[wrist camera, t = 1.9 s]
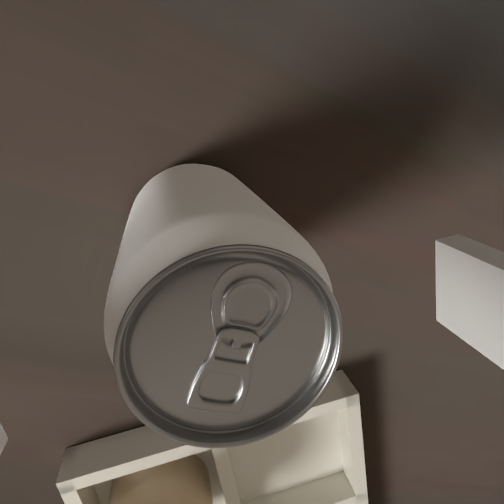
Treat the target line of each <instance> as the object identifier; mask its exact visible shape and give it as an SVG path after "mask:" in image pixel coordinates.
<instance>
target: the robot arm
mask: <svg viewBox="0 0 504 504" xmlns="http://www.w3.org/2000/svg"><path fill="white" fill-rule="evenodd" d="M435 246H436V320H437V321H438V322H439V323H441V324H442V325H444V326H445V327H446V328H448V329H449V330H450V331H452V332H453V333H454V334H456V335H457V336H459V337H460V338H461V339H463V340H464V341H465V342H467V343H468V344H469V345H471V346H472V347H473V348H475V349H476V350H478V351H479V352H480V353H482V354H483V355H484V356H486V357H487V358H488V359H490V360H491V361H493V362H494V363H495V364H497V365H498V366H499V367H501V368H502V369H503V370H504V252H502V251H499V250H497V249H494V248H492V247H489V246H487V245H484V244H482V243H479V242H476V241H474V240H471V239H469V238H466V237H464V236H461V235H459V234H458V235H454V236H450V237H446V238H442V239H438V240H435ZM7 440H8V437H7V435H6V433H5V431H4V429H3V427H2V425H1V423H0V455H1V453H2V451H3V449H4V447H5V444H6V442H7Z"/></svg>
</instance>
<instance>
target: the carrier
mask: <svg viewBox="0 0 504 504" xmlns="http://www.w3.org/2000/svg"><path fill="white" fill-rule="evenodd" d="M194 454H195V455H197V456H198V457H199V458H200V459H202V461H203V462H204V463H205V465H206V466H207V469H208V472H209V477H210V485H211V492H212V499H213V504H368V494H367V482H366V470H365V458H364V447H363V435H362V423H361V411H360V400H359V393H358V391H357V390H356V389H355V387H354V386H353V384H352V383H351V381H350V380H349V379H348V377H347V376H346V374H345V373H344V372H343V370H342V369H341V370H338V371H336V372H335V374H334V376H333V378H332V380H331V382H330V384H329V386H328V387H327V389H326V390H325V392H324V393H323V395H322V396H321V397H320V399H319V400H318V401H317V402H316V403H315V404H314V405H313V407H312V408H311V409H310V410H309V411H307V412H306V413H305V414H304V415H303V416H302V417H301V418H299V419H298V420H297V421H295V422H294V423H293V424H291V425H290V426H288V427H287V428H285V429H283V430H282V431H280V432H278V433H276V434H274V435H272V436H270V437H267V438H265V439H262V440H259V441H256V442H253V443H250V444H246V445H241V446H236V447H229V448H201V447H194V446H189V445H185V444H181V443H178V442H175V441H172V440H170V439H167V438H165V437H163V436H161V435H159V434H158V433H156V432H154V431H153V430H151V429H150V428H148V427H147V426H143V427H139V428H136V429H132V430H129V431H125V432H122V433H118V434H115V435H111V436H108V437H104V438H101V439H97V440H94V441H90V442H87V443H83V444H80V445H77V446H73V447H70V448H66V449H65V452H64V456H63V459H62V463H61V466H60V470H59V474H58V477H57V481H56V486H57V488H58V490H59V492H60V494H61V496H62V498H63V501H64V503H65V504H109V502H110V494H111V486H112V482H113V480H114V478H118V477H121V476H124V475H127V474H131V473H134V472H137V471H141V470H144V469H147V468H151V467H154V466H157V465H161V464H164V463H167V462H170V461H174V460H177V459H180V458H184V457H187V456H190V455H194Z"/></svg>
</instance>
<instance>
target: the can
mask: <svg viewBox="0 0 504 504" xmlns="http://www.w3.org/2000/svg"><path fill="white" fill-rule="evenodd" d="M104 336H105V342H106V347H107V351H108V354H109V357H110V359H111V362H112V364H113V366H114V373H115V378H116V382H117V385H118V388H119V390H120V393H121V395H122V397H123V399H124V401H125V402H126V404H127V406H128V407H129V408H130V410H131V411H132V412H133V414H134V415H135V416H136V417H137V418H138V419H139V420H140V421H141V422H142V423H143V424H145V425H146V426H147V427H148V428H150V429H151V430H153V431H154V432H156V433H158V434H159V435H161V436H163V437H165V438H167V439H170V440H172V441H175V442H178V443H181V444H185V445H189V446H194V447H201V448H229V447H236V446H241V445H246V444H250V443H253V442H256V441H259V440H262V439H265V438H267V437H270V436H272V435H274V434H276V433H278V432H280V431H282V430H283V429H285V428H287V427H288V426H290V425H291V424H293V423H294V422H295V421H297V420H298V419H299V418H301V417H302V416H303V415H304V414H305V413H306V412H307V411H309V410H310V409H311V408H312V407H313V405H314V404H315V403H316V402H317V401H318V400H319V399H320V397H321V396H322V395H323V393H324V392H325V390H326V389H327V387H328V386H329V384H330V382H331V380H332V378H333V376H334V374H335V372H336V369H337V367H338V364H339V361H340V357H341V352H342V346H343V323H342V317H341V313H340V309H339V306H338V303H337V301H336V299H335V297H334V295H333V291H332V286H331V282H330V279H329V276H328V273H327V271H326V269H325V267H324V265H323V263H322V261H321V259H320V258H319V256H318V255H317V253H316V252H315V251H314V249H313V248H312V247H311V245H310V244H309V243H308V242H307V241H306V240H305V239H304V238H303V237H302V236H301V235H300V234H299V233H298V232H297V231H296V230H295V229H294V228H293V227H292V226H291V225H290V224H288V223H287V222H286V221H285V220H284V219H283V218H282V217H281V216H280V215H278V214H277V213H276V212H275V211H274V210H273V209H272V208H271V207H269V206H268V205H267V204H266V203H265V202H264V201H263V200H262V199H260V198H259V197H258V196H257V195H256V194H255V193H253V192H252V191H251V190H250V189H249V188H248V187H247V186H245V185H244V184H243V183H242V182H241V181H239V180H238V179H237V178H236V177H235V176H233V175H232V174H230V173H229V172H227V171H225V170H223V169H220V168H217V167H214V166H210V165H204V164H182V165H177V166H174V167H171V168H168V169H166V170H164V171H162V172H160V173H159V174H157V175H156V176H154V177H153V178H152V179H151V180H150V181H149V182H148V183H147V184H146V185H145V186H144V187H143V188H142V189H141V191H140V192H139V194H138V195H137V197H136V199H135V201H134V203H133V206H132V209H131V212H130V215H129V218H128V221H127V224H126V228H125V231H124V235H123V238H122V242H121V245H120V249H119V252H118V256H117V260H116V263H115V267H114V270H113V274H112V278H111V282H110V286H109V290H108V294H107V299H106V304H105V312H104Z"/></svg>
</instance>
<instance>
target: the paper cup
mask: <svg viewBox="0 0 504 504" xmlns="http://www.w3.org/2000/svg"><path fill="white" fill-rule="evenodd" d="M109 504H213V499H212V492H211V485H210V477H209V472H208V469H207V466H206V465H205V463H204V462H203V461H202V459H200V458H199V457H198V456H197V455H195V454H194V455H190V456H187V457H184V458H180V459H177V460H174V461H170V462H167V463H164V464H161V465H157V466H154V467H151V468H147V469H144V470H141V471H137V472H134V473H131V474H127V475H124V476H121V477H118V478H114V480H113V482H112V486H111V494H110V502H109Z"/></svg>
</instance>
